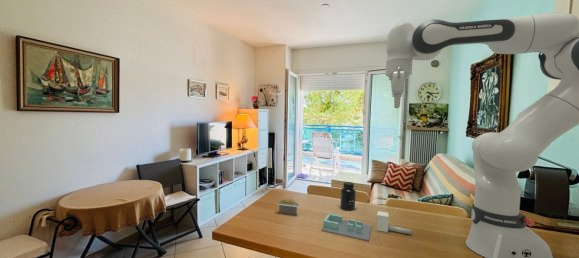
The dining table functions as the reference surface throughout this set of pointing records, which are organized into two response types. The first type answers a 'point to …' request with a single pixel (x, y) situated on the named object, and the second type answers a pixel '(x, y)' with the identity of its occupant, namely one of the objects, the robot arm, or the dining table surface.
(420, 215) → the dining table surface
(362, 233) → the board
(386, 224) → the cable plug
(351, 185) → the supplement bottle
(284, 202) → the potted plant
